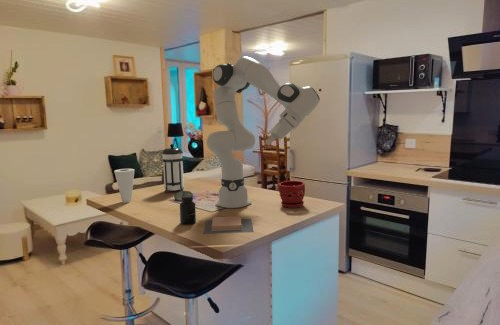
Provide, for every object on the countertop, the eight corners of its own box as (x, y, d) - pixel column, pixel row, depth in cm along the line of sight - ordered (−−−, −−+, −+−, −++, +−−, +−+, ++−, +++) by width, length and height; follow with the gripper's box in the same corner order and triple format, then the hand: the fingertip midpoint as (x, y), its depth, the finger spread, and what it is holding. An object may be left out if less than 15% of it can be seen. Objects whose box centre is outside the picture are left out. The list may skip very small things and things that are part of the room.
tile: (240, 220, 150) (213, 221, 149) (240, 216, 149) (213, 217, 149) (241, 229, 138) (211, 230, 137) (241, 225, 138) (211, 226, 137)
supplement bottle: (193, 225, 147) (191, 198, 145) (178, 224, 148) (176, 198, 146) (198, 220, 154) (197, 194, 152) (183, 220, 155) (182, 194, 153)
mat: (206, 221, 152) (206, 220, 152) (251, 219, 153) (251, 218, 153) (203, 235, 134) (203, 233, 134) (253, 233, 135) (253, 231, 135)
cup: (113, 204, 187) (110, 171, 184) (122, 199, 197) (120, 168, 195) (131, 204, 186) (129, 171, 183) (139, 199, 196) (137, 168, 194)
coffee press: (156, 192, 215) (153, 144, 211) (176, 187, 227) (174, 142, 223) (173, 195, 204) (170, 145, 200) (193, 190, 216) (191, 143, 212)
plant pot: (281, 202, 183) (281, 180, 181) (306, 203, 179) (306, 180, 178) (276, 208, 170) (276, 185, 169) (303, 209, 167) (303, 185, 165)
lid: (193, 197, 199) (193, 188, 199) (192, 201, 189) (191, 192, 189) (175, 197, 199) (175, 189, 198) (173, 201, 189) (172, 193, 188)
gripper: (280, 114, 155) (259, 136, 156) (287, 114, 134) (263, 139, 135) (290, 124, 155) (269, 146, 156) (299, 125, 135) (275, 150, 136)
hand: (266, 143), depth 146 cm, fingers closed
